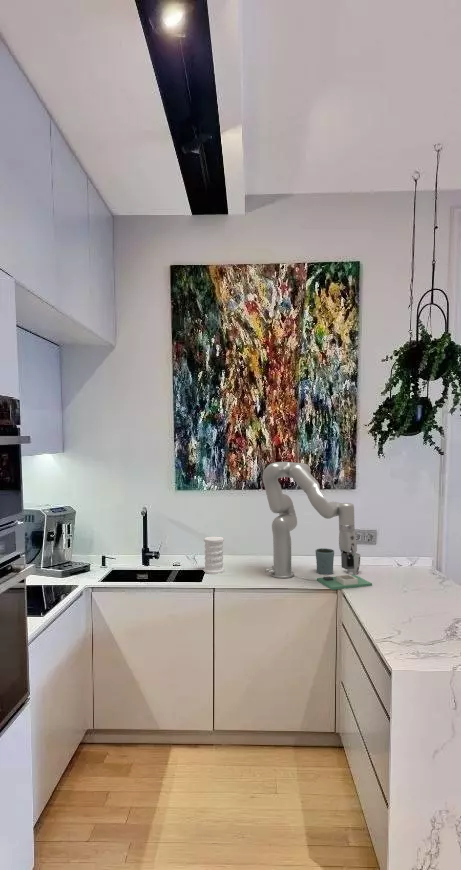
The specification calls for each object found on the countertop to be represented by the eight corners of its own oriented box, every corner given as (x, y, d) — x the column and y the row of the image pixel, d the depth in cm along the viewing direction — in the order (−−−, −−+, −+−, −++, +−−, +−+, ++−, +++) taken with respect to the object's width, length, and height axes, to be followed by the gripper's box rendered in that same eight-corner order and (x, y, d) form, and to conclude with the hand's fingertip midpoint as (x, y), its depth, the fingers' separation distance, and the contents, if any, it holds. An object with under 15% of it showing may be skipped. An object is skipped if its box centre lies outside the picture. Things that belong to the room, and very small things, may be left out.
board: (331, 589, 228) (331, 582, 228) (316, 580, 243) (316, 573, 243) (372, 585, 234) (372, 578, 234) (354, 576, 249) (354, 569, 249)
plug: (346, 569, 233) (345, 554, 233) (341, 567, 237) (341, 552, 237) (355, 568, 234) (355, 553, 234) (350, 566, 238) (350, 552, 239)
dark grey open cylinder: (328, 569, 264) (328, 547, 264) (338, 574, 255) (338, 551, 255) (312, 571, 261) (312, 549, 261) (321, 575, 251) (321, 553, 251)
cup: (361, 575, 252) (360, 556, 252) (345, 574, 254) (345, 555, 254) (360, 571, 260) (359, 552, 260) (344, 570, 262) (344, 552, 262)
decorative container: (199, 571, 260) (198, 538, 260) (213, 567, 269) (213, 535, 269) (214, 575, 253) (214, 541, 253) (228, 570, 262) (228, 538, 262)
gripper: (362, 530, 229) (363, 568, 228) (344, 525, 245) (345, 560, 245) (348, 531, 227) (349, 570, 226) (331, 526, 243) (332, 561, 243)
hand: (347, 564), depth 236 cm, fingers closed on plug, 4 cm apart
